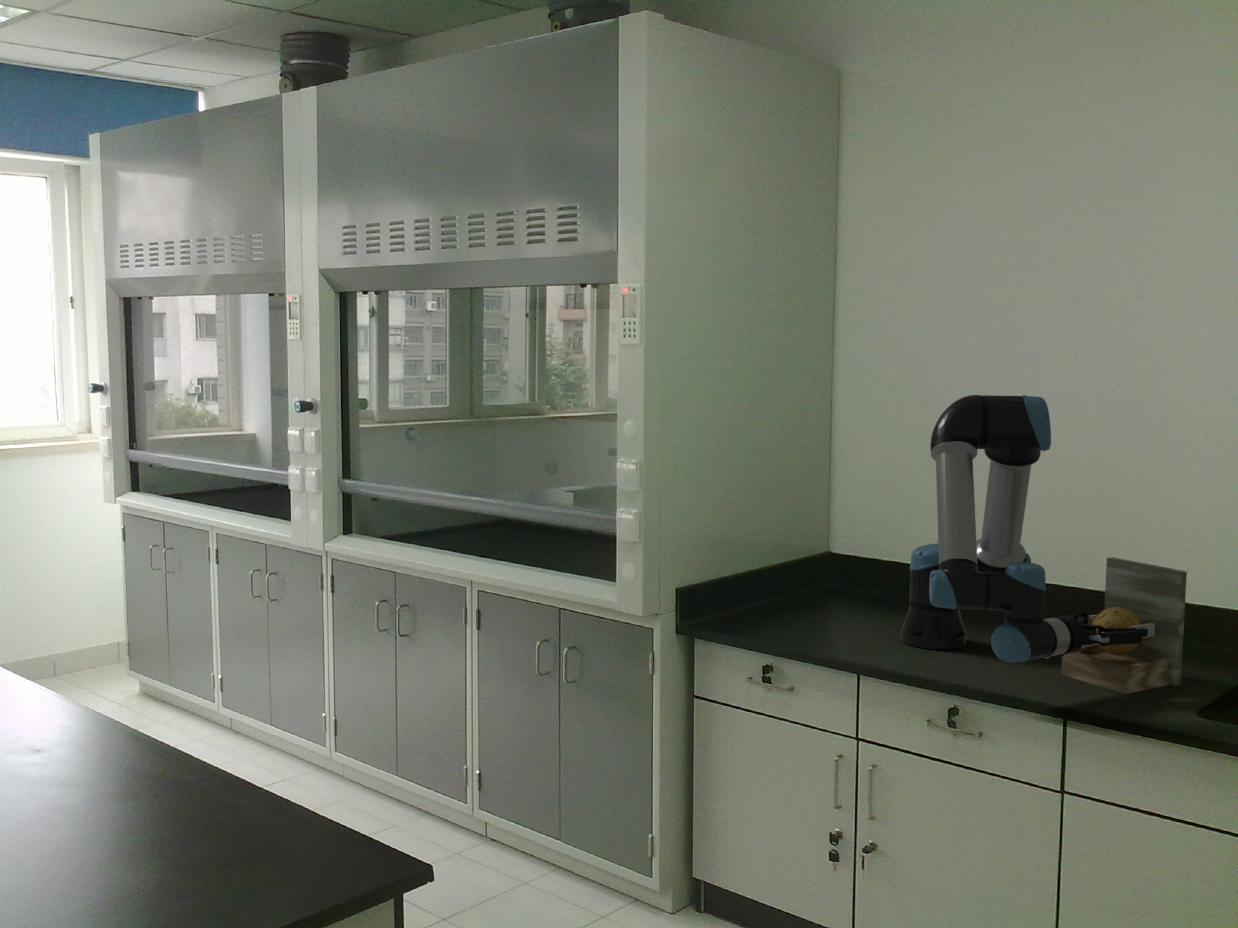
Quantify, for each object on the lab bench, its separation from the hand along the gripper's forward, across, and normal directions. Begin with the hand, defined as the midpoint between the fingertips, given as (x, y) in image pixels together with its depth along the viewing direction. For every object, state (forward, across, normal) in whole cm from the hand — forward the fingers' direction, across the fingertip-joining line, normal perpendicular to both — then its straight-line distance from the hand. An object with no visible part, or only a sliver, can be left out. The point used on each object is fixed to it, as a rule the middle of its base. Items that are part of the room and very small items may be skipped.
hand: (1131, 624), depth 246 cm
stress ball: (-4, 0, -6) cm, 8 cm away
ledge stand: (-4, 0, -12) cm, 12 cm away
